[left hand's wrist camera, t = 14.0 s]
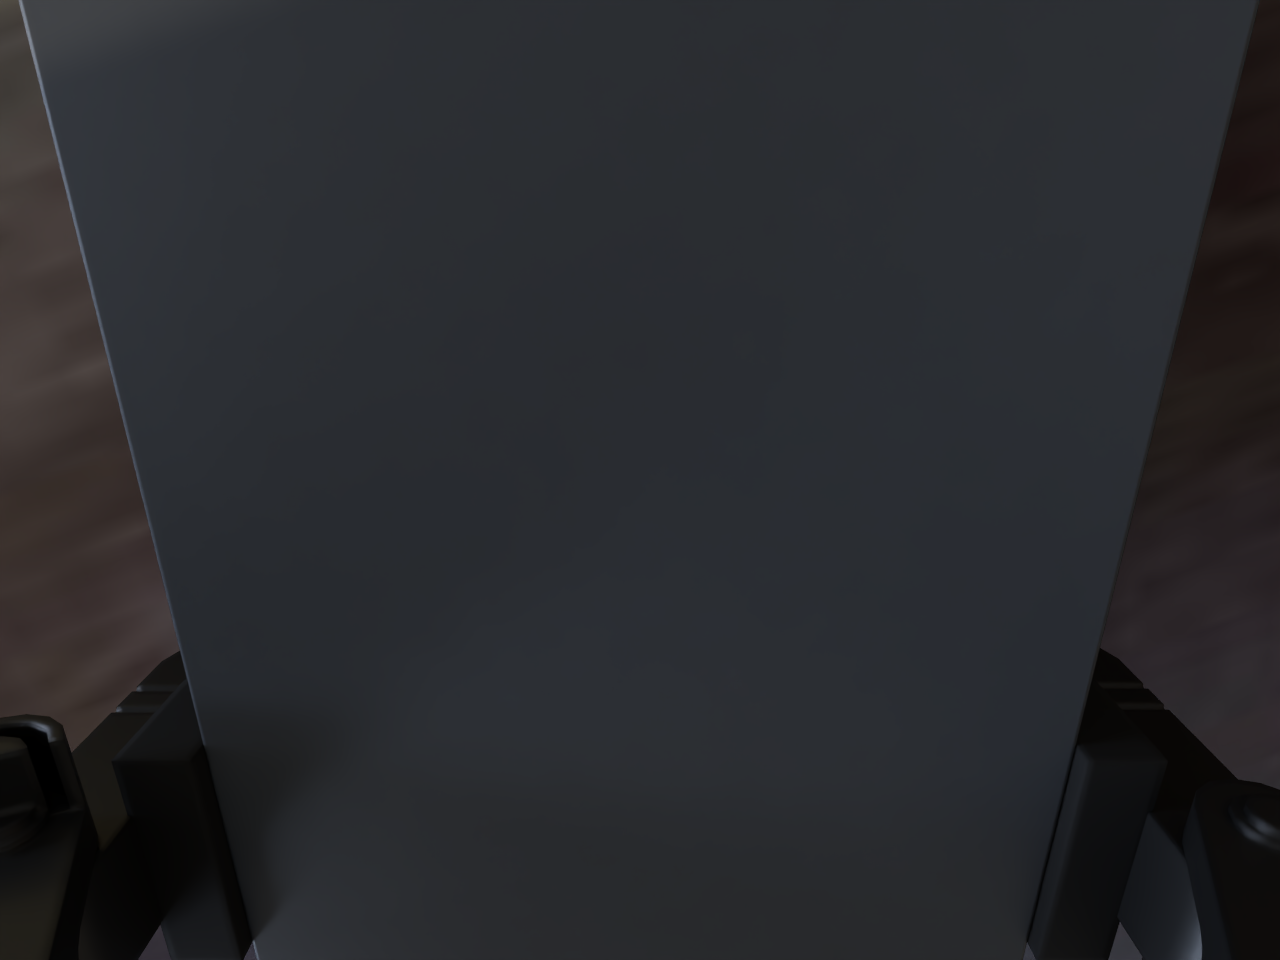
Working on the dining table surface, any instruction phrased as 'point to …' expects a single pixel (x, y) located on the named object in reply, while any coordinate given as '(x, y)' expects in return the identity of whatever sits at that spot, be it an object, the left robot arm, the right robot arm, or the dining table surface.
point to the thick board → (639, 442)
